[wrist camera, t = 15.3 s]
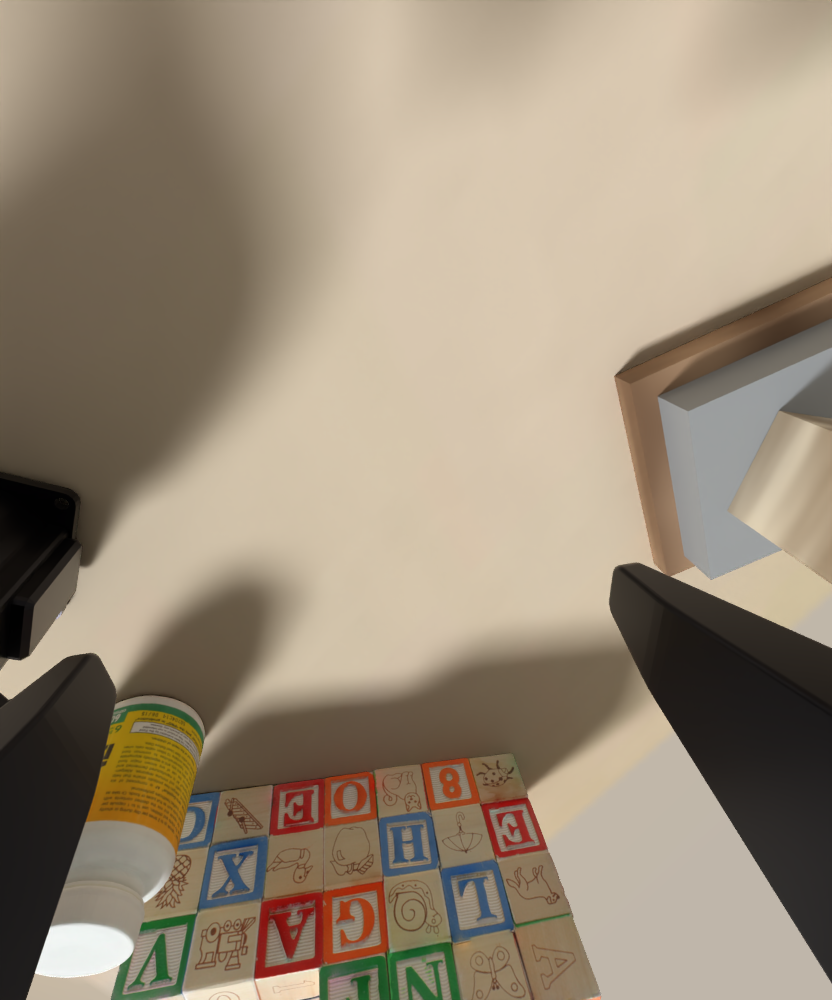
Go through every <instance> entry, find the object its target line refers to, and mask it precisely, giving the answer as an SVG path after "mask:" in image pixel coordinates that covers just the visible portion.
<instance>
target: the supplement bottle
mask: <svg viewBox="0 0 832 1000" xmlns="http://www.w3.org/2000/svg"><path fill="white" fill-rule="evenodd" d="M204 739H205V730H204V726H203V723H202V720H201V718H200V717H199V715H198V714H197V713H196V712H195V710H194V709H192V708H191V707H190V706H188V705H187V704H185V703H183V702H181V701H178V700H175V699H172V698H168V697H162V696H139V697H134V698H130V699H127V700H124V701H121V702H119V703H117V704H115V708H114V713H113V717H112V721H111V726H110V730H109V735H108V739H107V744H106V748H105V753H104V757H103V762H102V766H101V771H100V775H99V779H98V783H97V787H96V791H95V794H94V798H93V801H92V804H91V807H90V810H89V813H88V816H87V819H86V822H85V825H84V828H83V831H82V834H81V837H80V840H79V843H78V846H77V849H76V852H75V855H74V858H73V861H72V864H71V867H70V870H69V873H68V876H67V879H66V882H65V885H64V888H63V891H62V894H61V897H60V900H59V903H58V906H57V909H56V912H55V915H54V917H53V920H52V923H51V926H50V929H49V932H48V935H47V938H46V941H45V944H44V947H43V950H42V953H41V956H40V959H39V962H38V965H37V968H36V971H35V973H36V974H40V975H45V976H51V977H62V978H66V977H80V976H89V975H94V974H99V973H102V972H105V971H107V970H110V969H112V968H115V967H117V966H118V965H120V964H122V963H123V962H125V961H126V960H127V959H128V958H129V957H130V956H131V954H132V953H133V951H134V948H135V946H136V942H137V939H138V935H139V932H140V928H141V925H142V922H143V920H144V915H145V911H144V903H145V902H147V901H148V900H149V899H151V898H152V897H153V896H154V895H156V894H157V893H158V892H159V891H160V890H161V888H162V887H163V886H164V885H165V883H166V882H167V880H168V879H169V877H170V875H171V872H172V870H173V867H174V863H175V859H176V855H177V851H178V847H179V843H180V838H181V834H182V830H183V826H184V822H185V817H186V813H187V809H188V805H189V801H190V797H191V793H192V789H193V785H194V781H195V777H196V773H197V769H198V765H199V760H200V756H201V752H202V749H203V744H204Z"/></svg>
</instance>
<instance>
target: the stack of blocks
mask: <svg viewBox="0 0 832 1000" xmlns="http://www.w3.org/2000/svg"><path fill="white" fill-rule="evenodd" d="M144 911H145V915H144V920H143V922H142V925H141V928H140V932H139V935H138V939H137V942H136V946H135V948H134V951H133V953H132V954H131V956H130V957H129V958H128V959H127V960H126V961H125V962H123V963H122V964H120V967H119V971H118V975H117V978H116V982H115V985H114V989H113V993H112V996H111V1000H600V999H601V993H600V990H599V987H598V984H597V982H596V979H595V977H594V974H593V971H592V968H591V966H590V963H589V960H588V958H587V955H586V952H585V950H584V947H583V944H582V942H581V939H580V936H579V934H578V931H577V928H576V925H575V923H574V920H573V914H572V911H571V908H570V905H569V902H568V900H567V898H566V896H565V894H564V889H563V886H562V884H561V882H560V879H559V876H558V873H557V870H556V867H555V865H554V862H553V860H552V858H551V856H550V853H549V852H548V848H547V845H546V843H545V840H544V837H543V835H542V832H541V829H540V827H539V824H538V821H537V819H536V816H535V814H534V811H533V808H532V806H531V803H530V801H529V799H528V794H527V791H526V788H525V786H524V783H523V780H522V777H521V774H520V771H519V769H518V766H517V763H516V761H515V758H514V756H513V754H512V753H508V754H501V755H493V756H485V757H477V758H469V759H468V758H462V759H454V760H446V761H439V762H431V763H423V764H415V765H406V766H399V767H391V768H384V769H377V770H374V771H371V772H362V773H357V774H349V775H342V776H334V777H328V778H325V779H315V780H308V781H300V782H293V783H286V784H279V785H276V786H272V785H268V786H261V787H253V788H246V789H238V790H230V791H223V792H213V793H206V794H198V795H192V796H191V797H190V801H189V805H188V809H187V813H186V817H185V822H184V826H183V830H182V834H181V838H180V843H179V847H178V851H177V855H176V859H175V863H174V867H173V870H172V872H171V875H170V877H169V879H168V880H167V882H166V883H165V885H164V886H163V887H162V888H161V890H160V891H159V892H158V893H157V894H156V895H154V896H153V897H152V898H151V899H149V900H148V901H147V902H145V903H144Z"/></svg>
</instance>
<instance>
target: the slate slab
mask: <svg viewBox="0 0 832 1000" xmlns="http://www.w3.org/2000/svg"><path fill="white" fill-rule="evenodd" d="M658 402H659V408H660V414H661V420H662V426H663V432H664V438H665V444H666V450H667V456H668V462H669V467H670V473H671V479H672V485H673V491H674V497H675V503H676V509H677V515H678V521H679V527H680V533H681V539H682V545H683V551H684V556H685V557H686V558H687V559H688V560H690V561H691V562H692V563H693V564H694V565H695V566H696V567H697V568H698V569H700V570H701V571H702V572H703V573H704V574H705V575H706V576H707V577H708V578H709V579H711V580H712V579H714V578H717V577H719V576H721V575H724V574H726V573H728V572H731V571H733V570H736V569H738V568H740V567H743V566H745V565H747V564H750V563H752V562H754V561H757V560H759V559H761V558H764V557H766V556H769V555H771V554H773V553H776V552H778V551H780V550H782V549H781V548H779V547H778V546H776V545H775V544H774V543H772V542H771V541H769V540H768V539H766V538H765V537H764V536H762V535H761V534H759V533H758V532H756V531H755V530H754V529H752V528H751V527H749V526H748V525H746V524H745V523H744V522H742V521H741V520H739V519H738V518H736V517H735V516H734V515H732V514H731V513H729V512H728V511H727V510H728V508H729V506H730V504H731V503H732V501H733V499H734V497H735V495H736V493H737V491H738V489H739V487H740V485H741V483H742V481H743V479H744V477H745V475H746V473H747V472H748V470H749V468H750V466H751V464H752V462H753V460H754V458H755V456H756V454H757V452H758V450H759V448H760V446H761V444H762V442H763V441H764V439H765V437H766V435H767V433H768V431H769V429H770V427H771V425H772V423H773V421H774V419H775V417H776V415H777V413H778V411H785V412H792V413H799V414H805V415H812V416H819V417H826V418H832V318H831V319H829V320H827V321H825V322H822V323H820V324H818V325H816V326H813V327H811V328H809V329H807V330H805V331H802V332H800V333H798V334H796V335H793V336H791V337H789V338H787V339H784V340H782V341H780V342H778V343H776V344H773V345H771V346H769V347H767V348H764V349H762V350H760V351H758V352H755V353H753V354H751V355H749V356H747V357H744V358H742V359H740V360H738V361H735V362H733V363H731V364H729V365H727V366H724V367H722V368H720V369H718V370H715V371H713V372H711V373H709V374H706V375H704V376H702V377H700V378H698V379H695V380H693V381H691V382H689V383H686V384H684V385H682V386H680V387H677V388H675V389H673V390H671V391H669V392H666V393H664V394H662V395H660V396H658Z"/></svg>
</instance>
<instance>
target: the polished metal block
mask: <svg viewBox="0 0 832 1000" xmlns="http://www.w3.org/2000/svg"><path fill="white" fill-rule="evenodd" d="M727 511H728V512H729V513H731V514H732V515H734V516H735V517H736V518H738V519H739V520H741V521H742V522H744V523H745V524H746V525H748V526H749V527H751V528H752V529H754V530H755V531H756V532H758V533H759V534H761V535H762V536H764V537H765V538H766V539H768V540H769V541H771V542H772V543H774V544H775V545H776V546H778V547H779V548H781V549H782V550H784V551H785V552H786V553H788V554H789V555H791V556H792V557H794V558H795V559H796V560H798V561H799V562H801V563H802V564H804V565H805V566H806V567H808V568H809V569H811V570H812V571H814V572H815V573H816V574H818V575H819V576H821V577H822V578H824V579H825V580H826V581H828V582H829V583H831V584H832V418H826V417H819V416H812V415H805V414H799V413H792V412H785V411H778V413H777V415H776V417H775V419H774V421H773V423H772V425H771V427H770V429H769V431H768V433H767V435H766V437H765V439H764V441H763V442H762V444H761V446H760V448H759V450H758V452H757V454H756V456H755V458H754V460H753V462H752V464H751V466H750V468H749V470H748V472H747V473H746V475H745V477H744V479H743V481H742V483H741V485H740V487H739V489H738V491H737V493H736V495H735V497H734V499H733V501H732V503H731V504H730V506H729V508H728V510H727Z"/></svg>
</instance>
